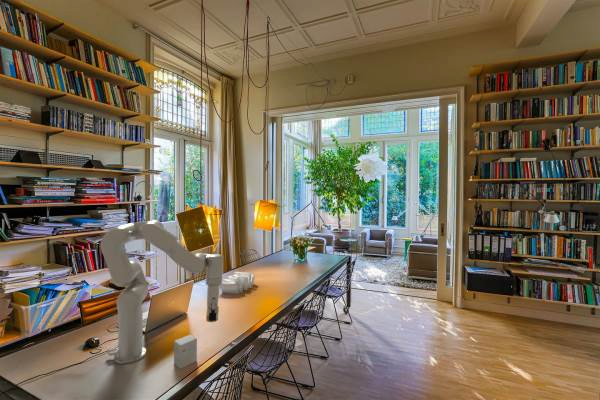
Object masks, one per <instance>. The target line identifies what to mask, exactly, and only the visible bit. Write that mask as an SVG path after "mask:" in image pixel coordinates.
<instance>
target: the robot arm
mask: <svg viewBox="0 0 600 400" xmlns="http://www.w3.org/2000/svg"><path fill="white" fill-rule="evenodd" d="M138 240H144V241H146V242H147V243H149V244H151V245H152V246H154V247H156V248H158V249H159V250H161V251H162V252H163V253H165V254H166V255H167V256H168V257H169V258H170V259H171V260H172V261H173V262H174V263H175V264H176V265H178V266H179V267H180V268H183V269H184V270H186V271H187V272H189V273H191V274H200V273H202V272H203V271H204V270H205V269H206V271H205V285H206V286H207V289H206V292H207V293H206V308H207V307H208V306H210V312H209V321H216V306H218V305H219V298H220V297H219V295H220V288H219V285H221V284H222V282H223V281H222V280H223V269H224V268H223V267H224V255H222V254H220V253H211V254H210V253H204V252H198V253H195V254H193V253H192V252H191V251H189V250H188V249H187V248H186V247H185V246H184V245H183V243H182V241H181V240H180V238H179V237H178V236H176V235H174V233H172V232H170V231H168V230H167V229H165V226H164V225H163V223H162V222H161V221H159V220H155V219H153V220H147V221H137V222H130V223H124V224H121V225H117V226H115V227H113V228H110V229H109V230H108V231H107V232H105V234H104V235H103V236H102V238H101V240H100V251H101V253H102V255H103V258H104V261H105V263H106V267H107V269H108V272H109V275H110V278H111V281H112V283H113V284H114V285H115V286H116V287H121V288H123V287H125V288H124V289H123V290H121V292H120V293H119V295H118V296H117V299H116V308H117V315H118V316H117V317H118V318H117V320H118V323H117V324H118V325H117V326H118V327H117V328H118V330H117V331H118V336H117V337H118V343H117V346H118V347H115V348H108V349H107V350H106V351H107V352H106V353H107V354H108V356H109V357H110V356H114V357H113V361H114V363H116V364H120V365H125V364H132V363H134V362H138V361H140V360H141V359H143V358H144V357H145V356H146V355H147V349H146V348H145V347H143V337H144V336H143V333H144V332H143V331H144V329H143V326H144V325H143V323H144V322H143V319H144V318H143V317H144V315H143V307H142V302H143V301H144V300H145V299H146V297H147V296H148V294H149V285H148V281H147V278H146V276H145V273H144V271H143V268H142V266H141V264H139V263H138V262H137V261H135V260H130V258H129V255H128V253H127V251H126V249H125V248H124V245H126V244H128V243H130V242H132V241H138ZM211 305H212V306H211ZM211 307H212V308H211ZM216 322H217V321H216Z"/></svg>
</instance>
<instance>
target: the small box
mask: <svg viewBox="0 0 600 400" xmlns="http://www.w3.org/2000/svg"><path fill="white" fill-rule="evenodd" d="M197 344H198V338H197V337H195V336H194V335H193V334H188V335H185V336H183V337H180V338H178V339H175V340H174V341H173V364H174V365H175V366H176V367H177V368H178V369H180V370H181V369H184V368H185V367H187V366H190V365H191V364H193V363H195V362H197V360H198V351H197V350H198V345H197Z"/></svg>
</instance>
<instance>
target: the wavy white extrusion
mask: <svg viewBox="0 0 600 400" xmlns="http://www.w3.org/2000/svg"><path fill="white" fill-rule="evenodd" d="M254 281H255V275H254V274H253V273H250V272H245V271H244V272H241V271H234V272H233V275H228V278H225V279H224V278H223V279H222V284H221V285H219V290H221V292H222V294H227V295H228V294H229V295H240V293H241V294H242V293H243V292H245V290H246V291H247V290H249V289H251V288H252V286H254V283H255V282H254ZM243 290H244V291H243Z"/></svg>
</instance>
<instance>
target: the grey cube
mask: <svg viewBox="0 0 600 400" xmlns="http://www.w3.org/2000/svg"><path fill="white" fill-rule="evenodd" d="M211 306H212V305H211ZM211 308H212V307H211ZM219 309H220V306H218V305H217V306H216V321H209V312H210V306H208V307H207V306H206V315H205V316H206V319H205V320H206V322H208V323H216V322H217V321H219V311H220V310H219Z"/></svg>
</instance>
